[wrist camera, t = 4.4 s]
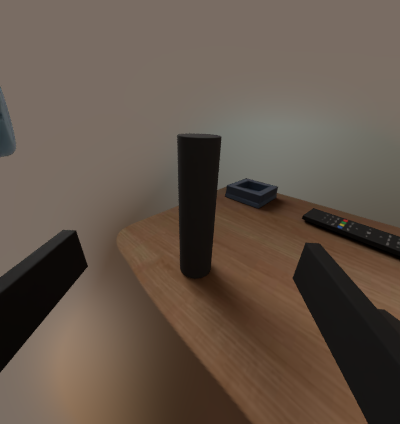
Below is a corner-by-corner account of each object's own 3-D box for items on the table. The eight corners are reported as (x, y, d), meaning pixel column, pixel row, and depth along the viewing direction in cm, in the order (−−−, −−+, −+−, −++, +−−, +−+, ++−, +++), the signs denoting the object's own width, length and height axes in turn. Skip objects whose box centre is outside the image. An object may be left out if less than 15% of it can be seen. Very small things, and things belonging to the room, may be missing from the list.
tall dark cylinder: (174, 265, 24) (168, 134, 17) (196, 252, 26) (200, 133, 19) (194, 284, 21) (198, 138, 14) (216, 267, 24) (230, 136, 17)
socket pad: (225, 196, 46) (226, 185, 44) (244, 188, 52) (246, 178, 50) (258, 208, 40) (260, 196, 39) (276, 197, 46) (278, 186, 45)
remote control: (311, 213, 39) (313, 208, 38) (512, 285, 23) (521, 277, 22) (300, 221, 36) (302, 215, 35) (526, 310, 20) (537, 302, 19)
